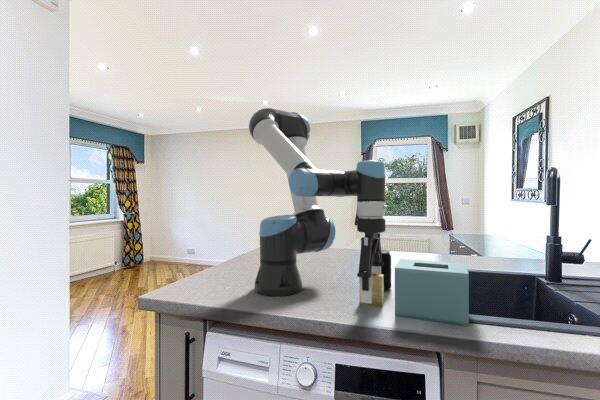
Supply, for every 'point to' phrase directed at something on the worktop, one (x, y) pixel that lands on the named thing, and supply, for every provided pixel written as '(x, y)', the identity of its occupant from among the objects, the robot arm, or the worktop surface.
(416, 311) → the coin box
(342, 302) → the worktop surface
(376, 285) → the beige rectangular block
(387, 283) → the beverage can
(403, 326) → the worktop surface
